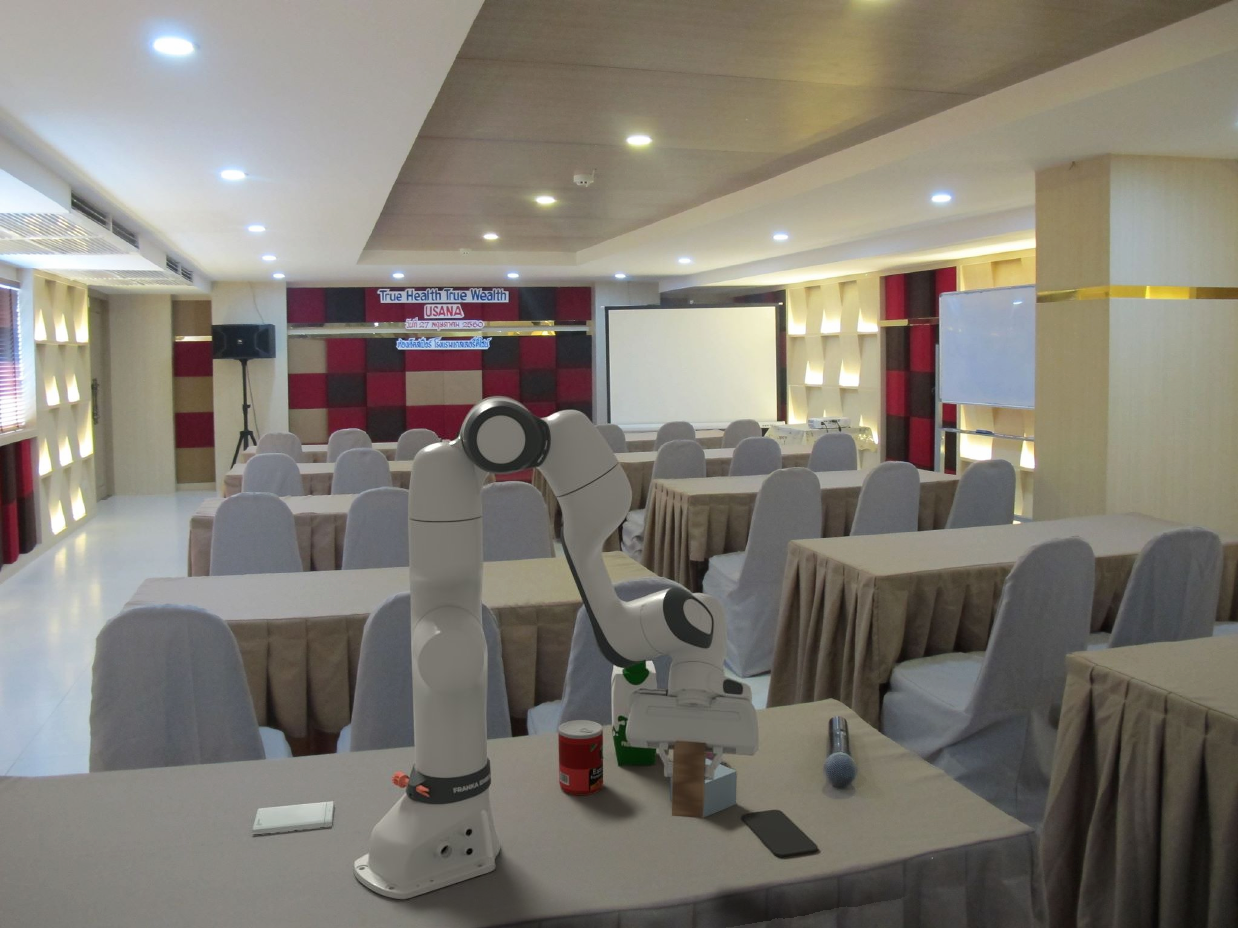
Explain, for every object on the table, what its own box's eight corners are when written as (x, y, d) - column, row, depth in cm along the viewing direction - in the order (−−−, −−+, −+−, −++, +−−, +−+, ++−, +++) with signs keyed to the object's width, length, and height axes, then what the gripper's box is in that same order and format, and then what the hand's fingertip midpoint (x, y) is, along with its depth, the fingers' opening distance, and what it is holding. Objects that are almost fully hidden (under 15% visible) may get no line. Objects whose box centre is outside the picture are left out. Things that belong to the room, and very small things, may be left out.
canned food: (598, 797, 177) (597, 736, 175) (554, 793, 178) (553, 733, 177) (607, 779, 184) (607, 720, 183) (565, 776, 186) (564, 718, 185)
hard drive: (251, 829, 164) (331, 819, 167) (257, 807, 172) (333, 798, 174) (252, 838, 164) (332, 829, 167) (258, 816, 172) (334, 808, 175)
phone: (779, 808, 171) (821, 848, 157) (779, 813, 171) (821, 853, 157) (738, 814, 169) (777, 855, 155) (738, 819, 169) (777, 860, 155)
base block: (702, 818, 169) (702, 783, 168) (670, 802, 175) (670, 769, 174) (736, 804, 174) (736, 770, 173) (703, 789, 180) (703, 756, 179)
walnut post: (671, 815, 149) (673, 750, 148) (674, 802, 154) (676, 738, 153) (702, 818, 149) (704, 752, 148) (704, 804, 153) (706, 741, 152)
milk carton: (613, 767, 189) (612, 663, 187) (611, 749, 198) (610, 649, 196) (660, 766, 190) (659, 662, 187) (655, 747, 199) (655, 648, 196)
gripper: (628, 678, 158) (617, 762, 149) (760, 686, 155) (757, 773, 146) (631, 696, 163) (621, 779, 154) (760, 705, 160) (757, 790, 151)
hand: (688, 776), depth 150 cm, fingers closed on walnut post, 4 cm apart
